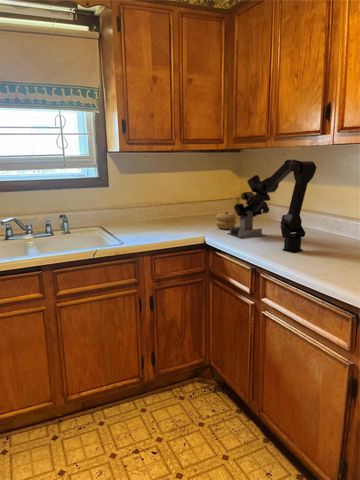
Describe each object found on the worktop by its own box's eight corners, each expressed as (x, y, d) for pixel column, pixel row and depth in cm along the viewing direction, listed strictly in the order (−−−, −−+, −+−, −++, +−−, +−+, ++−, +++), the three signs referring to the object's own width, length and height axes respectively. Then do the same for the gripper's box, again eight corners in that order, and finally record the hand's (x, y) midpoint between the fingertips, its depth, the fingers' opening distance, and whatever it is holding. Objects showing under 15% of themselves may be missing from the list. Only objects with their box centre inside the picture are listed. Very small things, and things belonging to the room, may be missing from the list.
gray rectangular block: (252, 231, 197) (253, 207, 194) (244, 232, 195) (245, 207, 192) (246, 230, 201) (247, 205, 198) (239, 230, 199) (239, 206, 196)
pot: (219, 225, 223) (219, 209, 220) (238, 227, 218) (239, 210, 215) (212, 229, 212) (212, 212, 210) (232, 231, 207) (232, 213, 205)
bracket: (264, 235, 196) (265, 229, 195) (240, 238, 189) (241, 232, 189) (250, 231, 207) (250, 224, 206) (226, 233, 201) (227, 227, 200)
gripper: (266, 186, 193) (253, 204, 205) (236, 188, 185) (224, 207, 197) (276, 203, 187) (261, 221, 200) (245, 205, 180) (231, 224, 192)
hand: (244, 218), depth 197 cm, fingers closed on gray rectangular block, 5 cm apart
